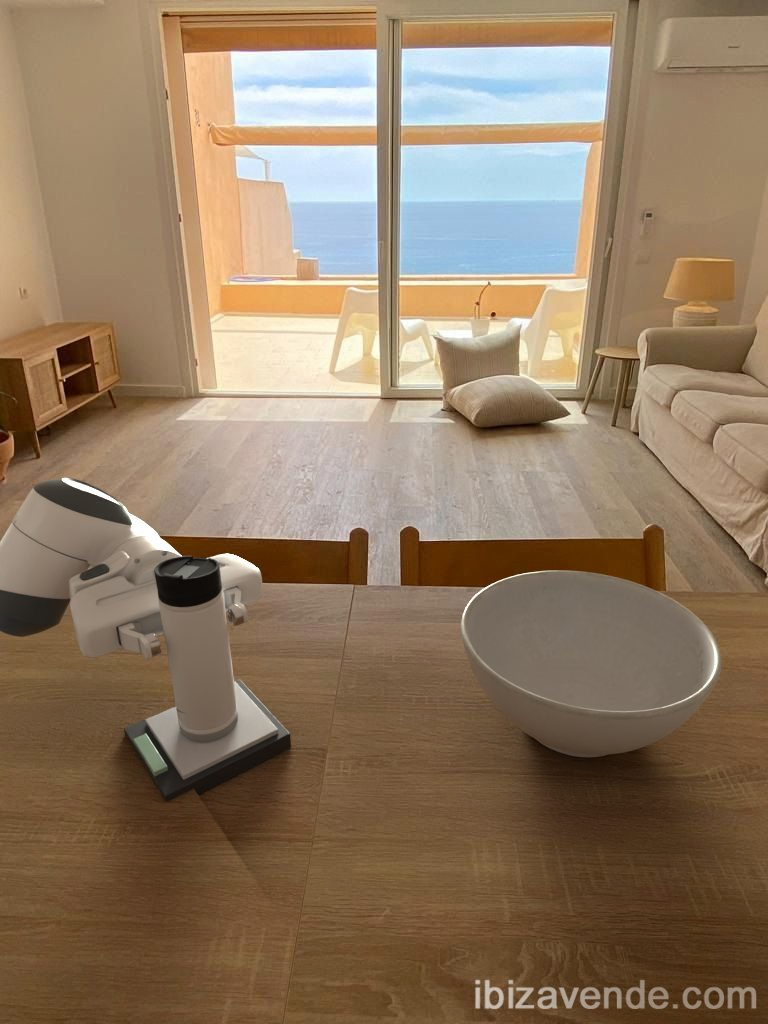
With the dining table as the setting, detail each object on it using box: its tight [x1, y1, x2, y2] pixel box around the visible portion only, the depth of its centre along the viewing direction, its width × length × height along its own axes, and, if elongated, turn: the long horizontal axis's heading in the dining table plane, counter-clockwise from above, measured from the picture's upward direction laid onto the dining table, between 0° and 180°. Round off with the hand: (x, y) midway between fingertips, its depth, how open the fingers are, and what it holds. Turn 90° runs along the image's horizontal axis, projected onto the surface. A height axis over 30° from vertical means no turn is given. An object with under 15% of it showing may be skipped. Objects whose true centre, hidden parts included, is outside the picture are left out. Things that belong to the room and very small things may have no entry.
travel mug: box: [154, 555, 238, 742], centre depth 71 cm, size 6×7×20 cm
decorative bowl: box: [460, 570, 723, 758], centre depth 77 cm, size 27×27×12 cm
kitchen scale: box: [123, 679, 292, 803], centre depth 76 cm, size 14×12×3 cm
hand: (199, 634), depth 70 cm, fingers open, 8 cm apart
